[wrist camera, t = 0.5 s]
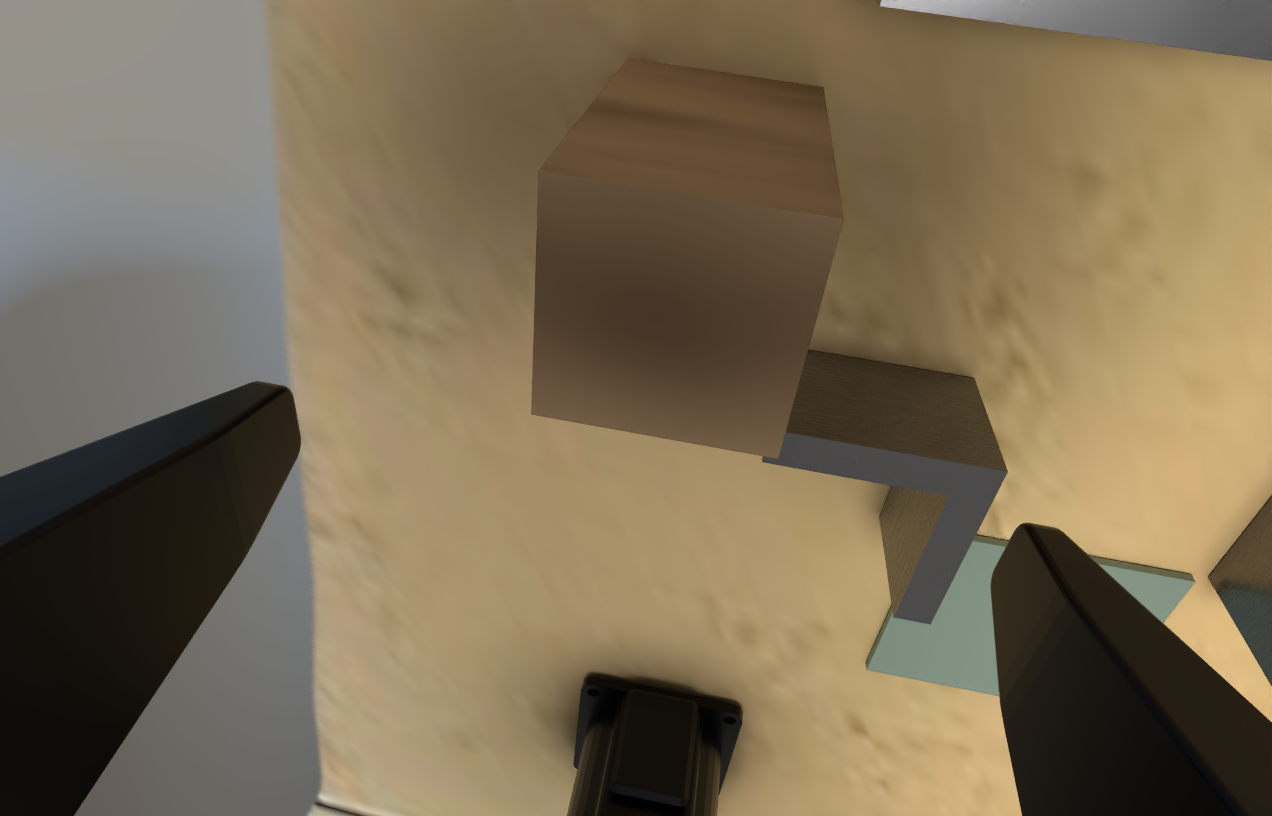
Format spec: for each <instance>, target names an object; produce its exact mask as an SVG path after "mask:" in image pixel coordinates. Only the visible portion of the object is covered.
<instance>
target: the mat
mask: <svg viewBox="0 0 1272 816" xmlns="http://www.w3.org/2000/svg"><path fill="white" fill-rule="evenodd" d="M1008 542H1009V541H1005V540H1000V539H994V538H989V537H984V536H978V535H976V536H975V538H974V540H973V542H972V543H971V545H970V547H969V549H968V551H967V553H966V555H965V557H964V559H963V561H962V563H961V565H960V567H959V569H958V571H957V573H956V575H955V577H954V579H953V581H952V583H951V585H950V587H949V589H948V591H947V593H946V595H945V597H944V599H943V601H942V603H941V605H940V607H939V609H938V611H937V613H936V615H935V617H934V619H933V621H932V623H931V625H930V624H925V623H919V622H914V621H909V620H904V619H899V618H893V610H892V606H891V609H890V611H889V613H888V615H887V617H886V620H885V622H884V624H883V626H882V629H881V631H880V633H879V635H878V637H877V640H876V642H875V644H874V646H873V649H872V651H871V653H870V655H869V657H868V660H867V662H866V669H867V670H869V671H874V672H879V673H884V674H889V675H894V676H900V677H905V678H910V679H915V680H920V681H925V682H930V683H935V684H940V685H945V686H950V687H955V688H961V689H966V690H971V691H976V692H981V693H986V694H991V695H996V696H999V688H998V676H997V664H996V652H995V639H994V627H993V615H992V602H991V588H990V586H991V578H992V574H993V571H994V568H995V566H996V564H997V562H998V561H999V559H1000V557H1001V555H1002V553H1003V551H1004V550H1005V548H1006V546H1007V544H1008ZM1090 557H1091V558H1092V559H1093V560H1094V561H1095V562H1097V563H1098V564H1099V565H1100V566H1101V567H1102V568H1103V569H1104V570H1105V571H1106V572H1107V573H1109V574H1110V575H1111V576H1112V577H1113V578H1114V579H1115V580H1116V581H1117V582H1118V583H1120V584H1121V585H1122V586H1123V587H1124V588H1125V589H1126V590H1127V591H1128V592H1129V593H1130V594H1132V595H1133V596H1134V597H1135V598H1136V599H1137V600H1138V601H1139V602H1140V603H1141V604H1143V605H1144V606H1145V607H1146V608H1147V609H1148V610H1149V611H1150V612H1151V613H1152V614H1153V615H1155V616H1156V617H1157V618H1158V619H1159V620H1160V621H1161V622H1162V623H1164V622H1165V620H1166V619H1167V618H1168V616H1169V615H1170V614H1171V613H1172V611H1173V610H1174V609H1175V607H1176V606H1177V605H1178V604H1179V602H1180V601H1181V600H1182V598H1183V597H1184V596H1185V595H1186V593H1187V592H1188V591H1189V589H1190V588H1191V587H1192V586H1193V584H1194V583H1195V580H1194V579H1193V577H1192V575H1191V574H1185V573H1180V572H1174V571H1169V570H1163V569H1158V568H1153V567H1147V566H1142V565H1136V564H1131V563H1125V562H1120V561H1114V560H1109V559H1104V558H1098V557H1093V556H1090Z"/></svg>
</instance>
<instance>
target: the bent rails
mask: <svg viewBox="0 0 1272 816" xmlns="http://www.w3.org/2000/svg"><path fill="white" fill-rule="evenodd" d="M876 1H877V2H878V4H879V6H882V7H889V8H897V9H904V10H911V11H918V12H925V13H933V14H940V15H947V16H954V17H961V18H968V19H976V20H983V21H990V22H997V23H1004V24H1012V25H1019V26H1026V27H1033V28H1040V29H1048V30H1055V31H1062V32H1069V33H1076V34H1084V35H1091V36H1098V37H1105V38H1112V39H1120V40H1127V41H1134V42H1141V43H1148V44H1155V45H1163V46H1170V47H1177V48H1184V49H1191V50H1199V51H1206V52H1213V53H1220V54H1227V55H1235V56H1242V57H1249V58H1256V59H1263V60H1271V61H1272V0H876ZM762 462H765V463H770V464H776V465H781V466H787V467H793V468H798V469H804V470H809V471H815V472H820V473H826V474H831V475H837V476H842V477H848V478H853V479H859V480H865V481H870V482H876V483H881V484H887V485H892V487H891V490H890V492H889V495H888V497H887V500H886V502H885V505H884V507H883V510H882V512H881V515H880V517H879V518H880V525H881V532H882V539H883V546H884V553H885V561H886V568H887V575H888V582H889V589H890V596H891V603H892V610H893V618H899V619H904V620H909V621H914V622H919V623H925V624H930V625H931V623H932V621H933V619H934V617H935V615H936V613H937V611H938V609H939V607H940V605H941V603H942V601H943V599H944V597H945V595H946V593H947V591H948V589H949V587H950V585H951V583H952V581H953V579H954V577H955V575H956V573H957V571H958V569H959V567H960V565H961V563H962V561H963V559H964V557H965V555H966V553H967V551H968V549H969V547H970V545H971V543H972V542H973V540H974V538H975V536H976V534H977V532H978V530H979V528H980V526H981V524H982V522H983V520H984V518H985V516H986V514H987V512H988V510H989V508H990V506H991V504H992V502H993V500H994V498H995V496H996V494H997V492H998V490H999V488H1000V486H1001V484H1002V482H1003V480H1004V478H1005V476H1006V474H1007V472H1008V471H1007V468H1006V465H1005V462H1004V460H1003V457H1002V454H1001V451H1000V449H999V446H998V443H997V440H996V437H995V435H994V432H993V429H992V426H991V424H990V421H989V418H988V415H987V412H986V410H985V407H984V404H983V401H982V399H981V396H980V393H979V390H978V387H977V385H976V382H975V379H974V378H970V377H964V376H958V375H952V374H946V373H940V372H935V371H929V370H923V369H917V368H911V367H905V366H899V365H893V364H887V363H882V362H876V361H870V360H864V359H858V358H852V357H846V356H840V355H835V354H829V353H823V352H817V351H811V350H808V352H807V355H806V359H805V362H804V366H803V370H802V373H801V377H800V381H799V384H798V388H797V392H796V395H795V399H794V403H793V406H792V410H791V414H790V417H789V421H788V425H787V428H786V432H785V436H784V439H783V443H782V447H781V450H780V454H779V458H778V459H776V458H771V457H765V456H762ZM1208 578H1209V580H1210V582H1211V584H1212V585H1213V587H1214V589H1215V590H1216V592H1217V594H1218V595H1219V597H1220V599H1221V601H1222V602H1223V604H1224V606H1225V607H1226V609H1227V611H1228V613H1229V614H1230V616H1231V618H1232V619H1233V621H1234V623H1235V624H1236V626H1237V628H1238V630H1239V631H1240V633H1241V635H1242V636H1243V638H1244V640H1245V642H1246V643H1247V645H1248V647H1249V648H1250V650H1251V652H1252V654H1253V655H1254V657H1255V659H1256V660H1257V662H1258V664H1259V665H1260V667H1261V669H1262V671H1263V672H1264V674H1265V676H1266V677H1267V679H1268V681H1269V683H1270V684H1271V686H1272V497H1271V499H1270V500H1269V501H1268V502H1267V504H1266V505H1265V506H1264V507H1263V509H1262V510H1261V511H1260V512H1259V514H1258V515H1257V516H1256V518H1255V519H1254V520H1253V521H1252V523H1251V524H1250V525H1249V526H1248V528H1247V529H1246V530H1245V531H1244V533H1243V534H1242V535H1241V537H1240V538H1239V539H1238V540H1237V542H1236V543H1235V544H1234V545H1233V547H1232V548H1231V549H1230V551H1229V552H1228V553H1227V554H1226V556H1225V557H1224V558H1223V559H1222V561H1221V562H1220V563H1219V564H1218V566H1217V567H1216V568H1215V570H1214V571H1213V572H1212V573H1211V575H1210V576H1209V577H1208Z"/></svg>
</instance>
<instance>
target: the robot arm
mask: <svg viewBox="0 0 1272 816" xmlns="http://www.w3.org/2000/svg"><path fill="white" fill-rule="evenodd" d="M300 446H301V435H300V430H299V424H298V419H297V413H296V408H295V402H294V397H293V394H292V392H291V391H290V389H289V388H287V387H286V386H283V385H277V384H271V383H266V382H260V381H258V382H257V381H256V382H252V383H249V384H246V385H243V386H241V387H238V388H236V389H233V390H230V391H228V392H225V393H222V394H220V395H217V396H214V397H212V398H209V399H206V400H204V401H201V402H198V403H196V404H193V405H190V406H188V407H185V408H182V409H180V410H177V411H174V412H172V413H169V414H166V415H164V416H161V417H158V418H156V419H153V420H151V421H148V422H145V423H142V424H140V425H137V426H134V427H132V428H129V429H126V430H124V431H121V432H118V433H116V434H113V435H110V436H108V437H105V438H102V439H100V440H97V441H95V442H92V443H89V444H86V445H84V446H81V447H79V448H76V449H73V450H70V451H68V452H65V453H63V454H60V455H57V456H54V457H52V458H49V459H46V460H44V461H41V462H38V463H36V464H33V465H31V466H28V467H25V468H23V469H20V470H17V471H14V472H12V473H9V474H7V475H4V476H1V477H0V816H74V815H75V813H76V812H77V810H78V809H79V807H80V806H81V804H82V802H83V801H84V800H85V798H86V797H87V795H88V794H89V792H90V791H91V789H92V788H93V786H94V785H95V783H96V782H97V780H98V778H99V777H100V775H101V774H102V773H103V771H104V770H105V768H106V766H107V765H108V764H109V762H110V760H111V759H112V758H113V756H114V754H115V753H116V752H117V750H118V749H119V747H120V745H121V744H122V742H123V741H124V739H125V738H126V736H127V735H128V733H129V732H130V730H131V729H132V727H133V726H134V724H135V723H136V721H137V720H138V718H139V717H140V715H141V714H142V712H143V711H144V709H145V708H146V706H147V705H148V703H149V702H150V700H151V699H152V697H153V696H154V694H155V693H156V691H157V690H158V688H159V686H160V685H161V684H162V682H163V681H164V679H165V678H166V676H167V675H168V673H169V672H170V670H171V669H172V667H173V666H174V664H175V663H176V661H177V660H178V658H179V657H180V655H181V654H182V652H183V651H184V649H185V648H186V646H187V645H188V643H189V642H190V640H191V639H192V637H193V636H194V634H195V633H196V631H197V630H198V628H199V627H200V625H201V624H202V622H203V621H204V619H205V618H206V616H207V615H208V613H209V612H210V610H211V609H212V607H213V606H214V604H215V603H216V601H217V600H218V598H219V597H220V595H221V594H222V592H223V590H224V589H225V588H226V586H227V585H228V583H229V582H230V580H231V579H232V577H233V576H234V574H235V572H236V571H237V569H238V568H239V566H240V565H241V563H242V561H243V560H244V558H245V557H246V555H247V553H248V552H249V550H250V548H251V546H252V544H253V543H254V541H255V539H256V537H257V535H258V533H259V531H260V529H261V527H262V526H263V523H264V522H265V520H266V518H267V516H268V514H269V512H270V510H271V508H272V506H273V504H274V502H275V500H276V498H277V496H278V494H279V492H280V490H281V489H282V487H283V485H284V483H285V481H286V479H287V477H288V475H289V473H290V471H291V469H292V467H293V465H294V463H295V461H296V459H297V457H298V454H299V451H300ZM990 588H991V602H992V615H993V627H994V639H995V652H996V664H997V676H998V688H999V697H1000V706H1001V711H1002V717H1003V723H1004V728H1005V733H1006V738H1007V743H1008V748H1009V753H1010V758H1011V763H1012V768H1013V772H1014V777H1015V782H1016V787H1017V792H1018V797H1019V802H1020V807H1021V812H1022V816H1272V722H1271V721H1270V720H1269V719H1267V718H1266V717H1265V716H1264V715H1263V714H1262V713H1261V712H1260V711H1259V710H1258V709H1256V708H1255V707H1254V706H1253V705H1252V704H1251V703H1250V702H1249V701H1248V700H1247V699H1246V698H1244V697H1243V696H1242V695H1241V694H1240V693H1239V692H1238V691H1237V690H1236V689H1235V688H1233V687H1232V686H1231V685H1230V684H1229V683H1228V682H1227V681H1226V680H1225V679H1224V678H1223V677H1221V676H1220V675H1219V674H1218V673H1217V672H1216V671H1215V670H1214V669H1213V668H1212V667H1210V666H1209V665H1208V664H1207V663H1206V662H1205V661H1204V660H1203V659H1202V658H1201V657H1200V656H1198V655H1197V654H1196V653H1195V652H1194V651H1193V650H1192V649H1191V648H1190V647H1189V646H1187V645H1186V644H1185V643H1184V642H1183V641H1182V640H1181V639H1180V638H1179V637H1178V636H1176V635H1175V634H1174V633H1173V632H1172V631H1171V630H1170V629H1169V628H1168V627H1167V626H1166V625H1164V624H1163V623H1162V622H1161V621H1160V620H1159V619H1158V618H1157V617H1156V616H1155V615H1153V614H1152V613H1151V612H1150V611H1149V610H1148V609H1147V608H1146V607H1145V606H1144V605H1143V604H1141V603H1140V602H1139V601H1138V600H1137V599H1136V598H1135V597H1134V596H1133V595H1132V594H1130V593H1129V592H1128V591H1127V590H1126V589H1125V588H1124V587H1123V586H1122V585H1121V584H1120V583H1118V582H1117V581H1116V580H1115V579H1114V578H1113V577H1112V576H1111V575H1110V574H1109V573H1107V572H1106V571H1105V570H1104V569H1103V568H1102V567H1101V566H1100V565H1099V564H1098V563H1097V562H1095V561H1094V560H1093V559H1092V558H1091V557H1090V556H1089V555H1088V554H1087V553H1086V552H1084V551H1083V550H1082V549H1081V548H1080V547H1079V546H1078V545H1077V544H1076V543H1075V542H1073V541H1072V540H1071V539H1070V538H1069V537H1068V536H1067V535H1066V534H1065V533H1064V532H1062V531H1061V530H1059V529H1057V528H1054V527H1049V526H1044V525H1038V524H1033V523H1023V524H1021V525H1019V526H1018V527H1017V528H1016V530H1015V531H1014V533H1013V535H1012V537H1011V538H1010V540H1009V542H1008V544H1007V546H1006V548H1005V550H1004V551H1003V553H1002V555H1001V557H1000V559H999V561H998V562H997V564H996V566H995V568H994V571H993V574H992V578H991V586H990ZM742 718H743V711H742V709H741V708H740V707H738V706H736V705H733V704H729V703H724V702H719V701H714V700H709V699H704V698H699V697H694V696H689V695H684V694H680V693H675V692H670V691H665V690H660V689H655V688H650V687H645V686H640V685H635V684H630V683H625V682H620V681H615V680H610V679H605V678H600V677H594V676H591V677H587V678H585V679H584V681H583V685H582V689H581V697H580V706H579V716H578V726H577V736H576V745H575V755H574V767H575V768H576V769H578V770H577V774H576V778H575V783H574V787H573V791H572V796H571V800H570V804H569V809H568V813H567V816H717V807H718V795H719V794H720V791H721V787H722V784H723V781H724V778H725V775H726V772H727V769H728V766H729V763H730V759H731V756H732V753H733V750H734V747H735V744H736V741H737V738H738V735H739V732H740V728H741V725H742Z"/></svg>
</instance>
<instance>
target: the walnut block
mask: <svg viewBox="0 0 1272 816" xmlns="http://www.w3.org/2000/svg"><path fill="white" fill-rule="evenodd" d="M843 220H844V218H843V211H842V205H841V198H840V192H839V185H838V179H837V173H836V166H835V160H834V153H833V147H832V140H831V134H830V127H829V121H828V115H827V108H826V102H825V95H824V89H823V87H818V86H811V85H804V84H798V83H791V82H784V81H777V80H770V79H764V78H757V77H750V76H743V75H736V74H730V73H723V72H716V71H709V70H702V69H696V68H689V67H682V66H675V65H668V64H661V63H655V62H648V61H641V60H634V59H628V60H627V61H626V62H625V63H624V65H623V66H622V67H621V68H620V70H619V71H618V72H617V73H616V75H615V76H614V77H613V78H612V80H611V81H610V82H609V83H608V85H607V86H606V87H605V88H604V90H603V91H602V92H601V93H600V95H599V96H598V97H597V98H596V100H595V101H594V102H593V103H592V105H591V106H590V107H589V108H588V110H587V111H586V112H585V113H584V115H583V116H582V117H581V118H580V120H579V121H578V122H577V123H576V125H575V126H574V127H573V128H572V130H571V131H570V132H569V133H568V135H567V136H566V137H565V138H564V140H563V141H562V142H561V143H560V145H559V146H558V147H557V148H556V150H555V151H554V152H553V153H552V155H551V156H550V157H549V158H548V160H547V161H546V162H545V163H544V165H543V166H542V167H541V168H540V170H539V174H538V208H537V242H536V276H535V310H534V344H533V378H532V412H531V414H532V415H537V416H543V417H549V418H554V419H560V420H565V421H571V422H576V423H582V424H587V425H593V426H599V427H604V428H610V429H615V430H621V431H626V432H632V433H637V434H643V435H648V436H654V437H660V438H665V439H671V440H676V441H682V442H687V443H693V444H698V445H704V446H710V447H715V448H721V449H726V450H732V451H737V452H743V453H748V454H754V455H759V456H765V457H771V458H776V459H778V458H779V454H780V450H781V447H782V443H783V439H784V436H785V432H786V428H787V425H788V421H789V417H790V414H791V410H792V406H793V403H794V399H795V395H796V392H797V388H798V384H799V381H800V377H801V373H802V370H803V366H804V362H805V359H806V355H807V352H808V348H809V344H810V341H811V337H812V333H813V330H814V326H815V322H816V319H817V315H818V311H819V308H820V304H821V300H822V297H823V293H824V289H825V286H826V282H827V278H828V275H829V271H830V267H831V264H832V260H833V256H834V253H835V249H836V245H837V242H838V238H839V235H840V231H841V227H842V224H843Z"/></svg>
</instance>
